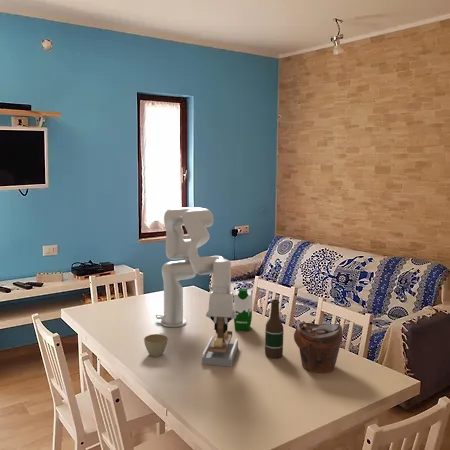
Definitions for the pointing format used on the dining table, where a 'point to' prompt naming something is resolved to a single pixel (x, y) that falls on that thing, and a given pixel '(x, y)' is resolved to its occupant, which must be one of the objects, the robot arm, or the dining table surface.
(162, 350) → the flower pot
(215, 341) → the crate
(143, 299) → the dining table surface
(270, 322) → the beer bottle
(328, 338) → the brown lidded bucket
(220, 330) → the brown base with upright
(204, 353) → the tray
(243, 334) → the dining table surface
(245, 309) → the milk carton
